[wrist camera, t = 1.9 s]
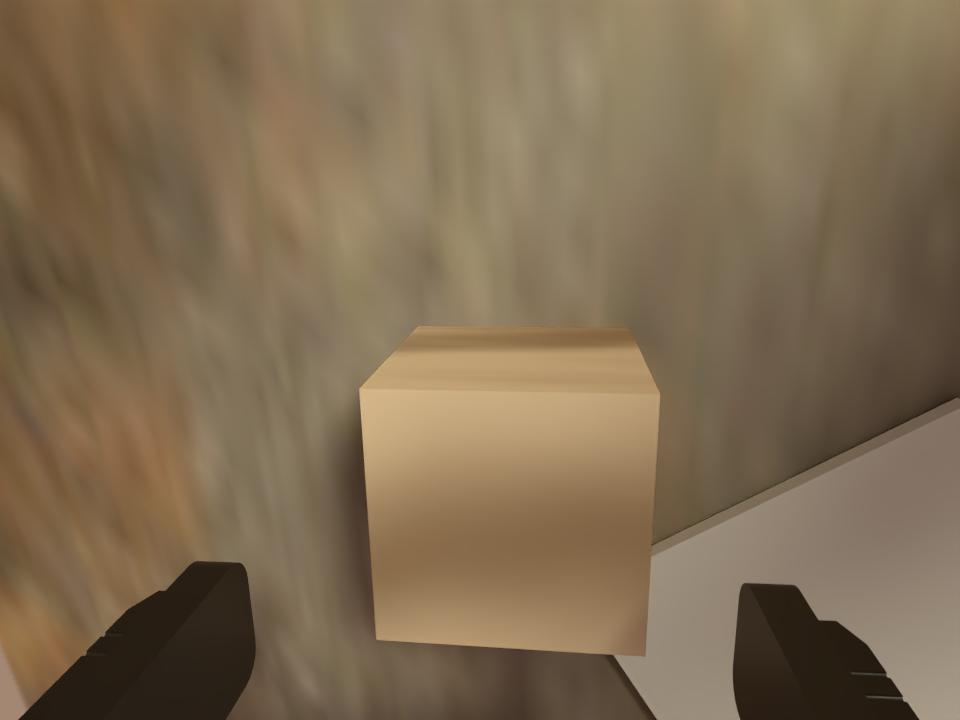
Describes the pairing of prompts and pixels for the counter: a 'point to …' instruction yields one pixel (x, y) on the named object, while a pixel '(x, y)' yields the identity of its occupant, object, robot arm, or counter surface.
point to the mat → (821, 572)
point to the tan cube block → (512, 488)
